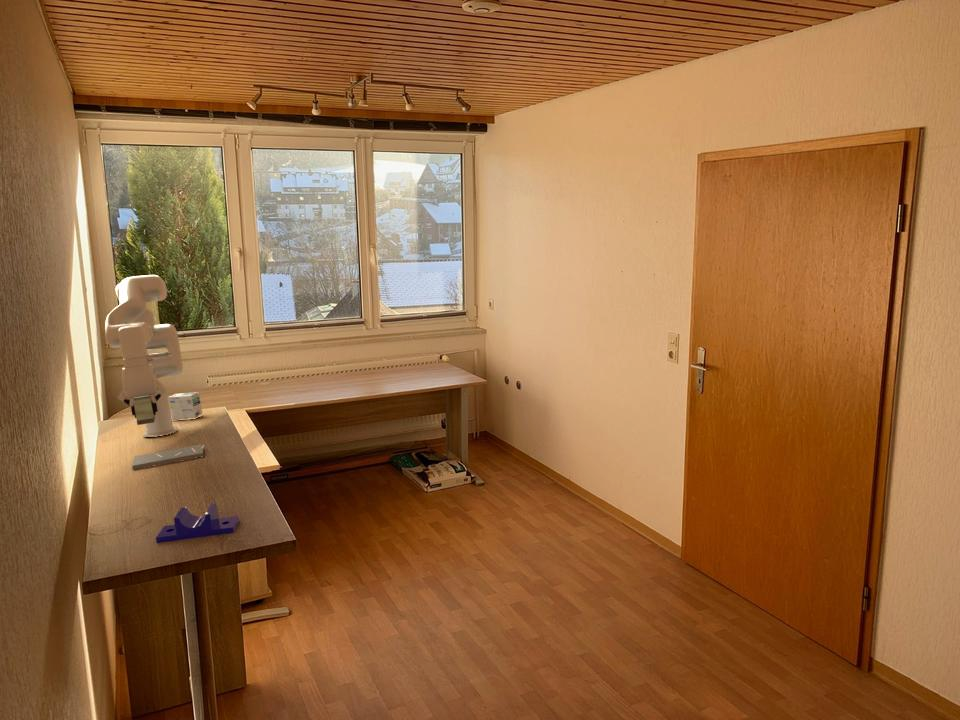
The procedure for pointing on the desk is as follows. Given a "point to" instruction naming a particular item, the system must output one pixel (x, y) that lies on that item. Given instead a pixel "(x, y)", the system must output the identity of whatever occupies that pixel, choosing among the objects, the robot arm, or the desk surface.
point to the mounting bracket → (197, 525)
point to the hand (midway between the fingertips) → (145, 415)
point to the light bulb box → (185, 405)
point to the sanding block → (143, 410)
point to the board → (167, 456)
